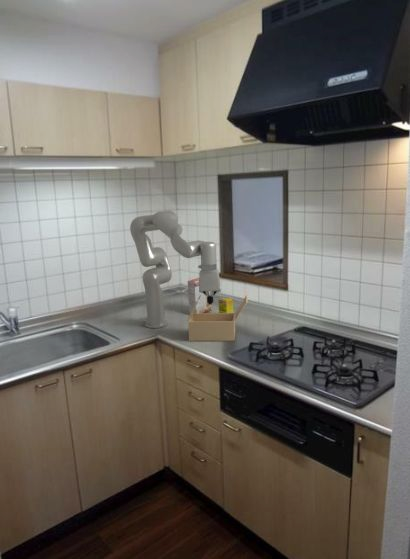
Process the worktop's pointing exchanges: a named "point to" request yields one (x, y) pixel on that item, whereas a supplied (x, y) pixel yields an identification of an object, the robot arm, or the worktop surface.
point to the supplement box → (225, 305)
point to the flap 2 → (240, 308)
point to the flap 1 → (193, 308)
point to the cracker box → (194, 295)
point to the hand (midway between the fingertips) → (210, 303)
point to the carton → (211, 327)
